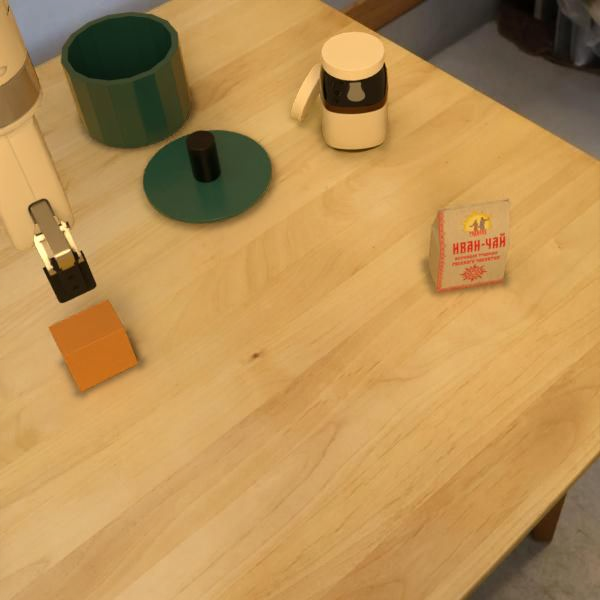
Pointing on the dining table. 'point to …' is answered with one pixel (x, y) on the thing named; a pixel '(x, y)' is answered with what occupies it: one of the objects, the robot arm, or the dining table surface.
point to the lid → (207, 176)
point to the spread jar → (348, 92)
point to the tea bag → (469, 245)
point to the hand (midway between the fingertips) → (56, 255)
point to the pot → (128, 79)
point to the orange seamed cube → (94, 345)
